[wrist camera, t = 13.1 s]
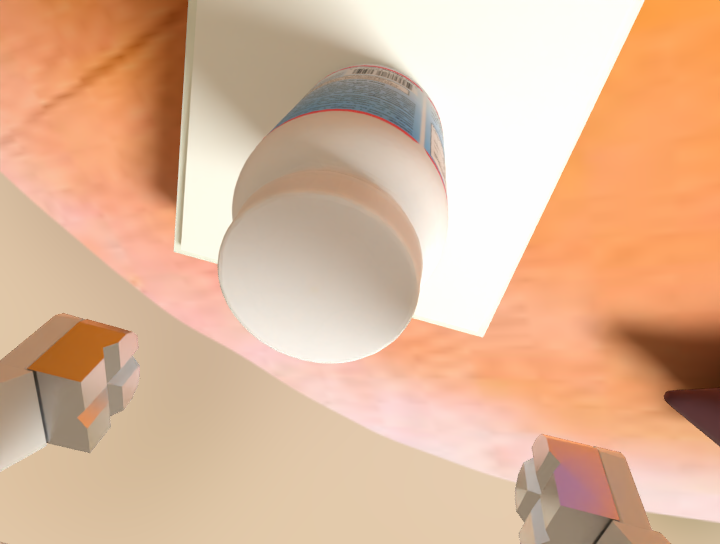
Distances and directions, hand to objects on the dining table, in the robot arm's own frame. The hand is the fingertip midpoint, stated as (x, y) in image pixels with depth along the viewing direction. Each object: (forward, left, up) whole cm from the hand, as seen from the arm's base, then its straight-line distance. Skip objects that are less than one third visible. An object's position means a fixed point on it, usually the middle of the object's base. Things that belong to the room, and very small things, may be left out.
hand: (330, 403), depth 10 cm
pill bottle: (+1, -1, -14) cm, 14 cm away
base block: (+1, -1, -17) cm, 18 cm away
